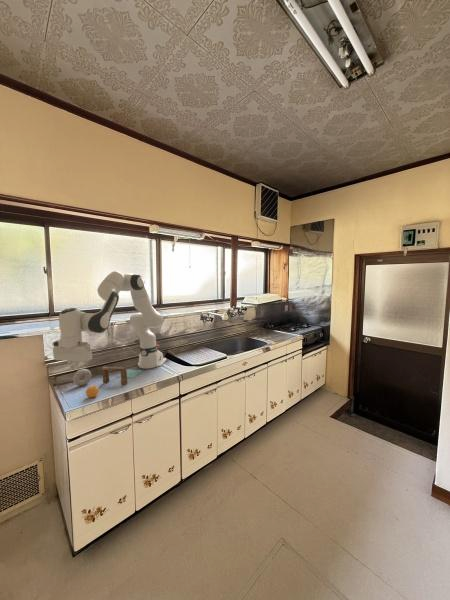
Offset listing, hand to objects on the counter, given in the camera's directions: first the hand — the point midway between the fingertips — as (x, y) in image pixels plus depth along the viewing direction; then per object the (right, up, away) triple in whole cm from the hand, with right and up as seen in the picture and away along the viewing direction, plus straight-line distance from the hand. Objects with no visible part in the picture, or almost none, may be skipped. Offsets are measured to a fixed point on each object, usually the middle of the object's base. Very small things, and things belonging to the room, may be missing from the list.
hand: (74, 369), depth 120 cm
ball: (+3, -15, +11) cm, 19 cm away
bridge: (+7, -17, +29) cm, 34 cm away
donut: (-11, -18, +27) cm, 34 cm away
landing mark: (+11, -15, +43) cm, 47 cm away
